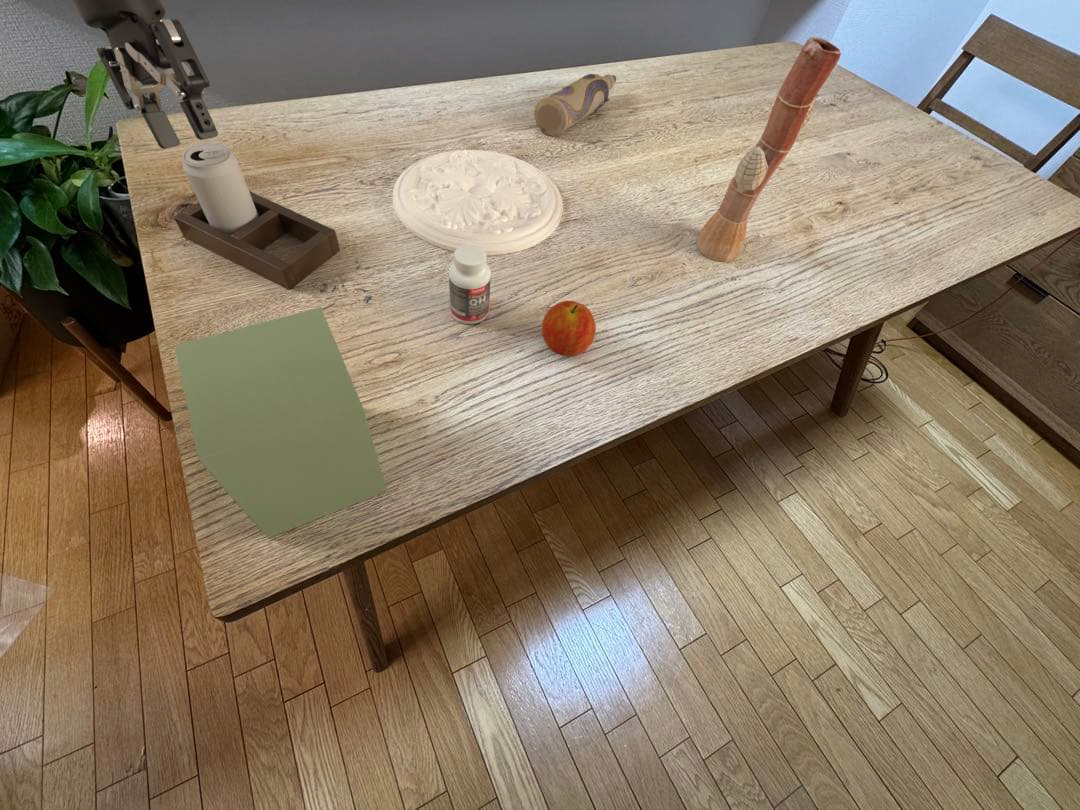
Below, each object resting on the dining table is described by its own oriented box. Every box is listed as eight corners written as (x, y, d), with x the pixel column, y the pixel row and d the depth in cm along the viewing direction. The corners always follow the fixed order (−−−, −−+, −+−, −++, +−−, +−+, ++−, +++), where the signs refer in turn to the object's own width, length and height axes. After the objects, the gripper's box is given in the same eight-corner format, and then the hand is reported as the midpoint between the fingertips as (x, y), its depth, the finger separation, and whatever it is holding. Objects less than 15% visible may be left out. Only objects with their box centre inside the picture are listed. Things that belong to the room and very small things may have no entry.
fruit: (528, 344, 69) (534, 300, 62) (563, 320, 72) (573, 276, 66) (565, 375, 66) (575, 333, 60) (600, 349, 70) (613, 307, 63)
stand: (387, 490, 55) (361, 404, 42) (268, 538, 50) (198, 459, 37) (353, 405, 60) (320, 306, 47) (242, 442, 56) (174, 345, 43)
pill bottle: (475, 331, 69) (475, 275, 61) (442, 314, 70) (438, 257, 62) (496, 308, 72) (499, 251, 64) (464, 292, 73) (464, 234, 65)
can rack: (289, 290, 70) (282, 270, 67) (184, 238, 73) (172, 216, 70) (340, 250, 75) (335, 230, 72) (240, 203, 79) (231, 182, 76)
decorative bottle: (562, 143, 99) (567, 107, 94) (531, 129, 101) (534, 92, 96) (627, 100, 113) (634, 66, 107) (598, 88, 115) (604, 54, 109)
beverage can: (213, 223, 75) (175, 143, 66) (260, 216, 77) (230, 137, 68) (218, 250, 72) (179, 170, 63) (267, 242, 74) (236, 163, 65)
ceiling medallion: (586, 188, 92) (590, 171, 89) (517, 279, 76) (519, 261, 73) (449, 138, 96) (448, 120, 93) (357, 214, 80) (353, 195, 78)
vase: (708, 266, 83) (808, 57, 58) (684, 238, 86) (768, 30, 62) (759, 254, 86) (874, 52, 62) (733, 228, 90) (832, 27, 65)
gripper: (29, -17, 52) (128, 157, 61) (87, -63, 45) (190, 142, 53) (108, -17, 57) (189, 144, 66) (171, -58, 50) (252, 128, 58)
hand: (189, 142), depth 59 cm, fingers open, 8 cm apart
